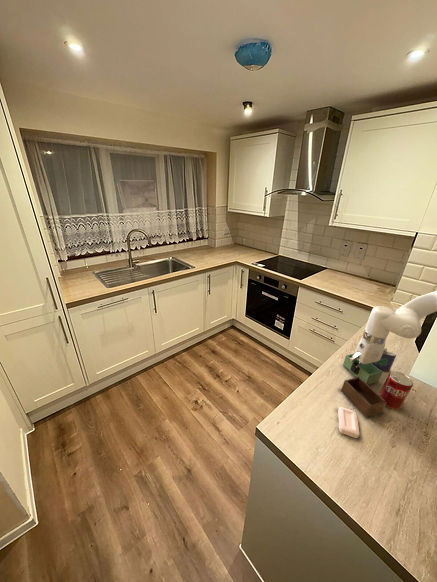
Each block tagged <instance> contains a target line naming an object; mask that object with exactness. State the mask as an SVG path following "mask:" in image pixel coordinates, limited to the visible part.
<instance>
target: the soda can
mask: <svg viewBox="0 0 437 582" xmlns="http://www.w3.org/2000/svg"><path fill="white" fill-rule="evenodd" d="M413 386H414V383H413V380H412V378H411V377H409V376H408V375H407V374H405V373H403V372H400V371H394V370H393V371H389V372H388V374H387V376H386V378H385V380H384V383H383V385H382V387H381V389H380V391H379V393H378V395H379V396H381V397H382V398H383V399H384V400H385V401H386V402H387V403H386V405H385V407H387V408H389V409H391V410H400V409H402V407H403V405H404V403H405V401H406V399H407V398H408V396H409V394H410V392H411V391H412V389H413Z"/></svg>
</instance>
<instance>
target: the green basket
mask: <svg viewBox="0 0 437 582" xmlns="http://www.w3.org/2000/svg"><path fill="white" fill-rule="evenodd" d="M352 356H354V353H351V354H346V355H345V357H344V360H343V363H342V366H343V367H344V368H345V369H346V370H347V371H348V372H350V373H351V374H352V375H353V376H354V378H356V377H360V378H361V379H362V380H363V381H364V382H365V383H366V384H367V385H372V384H376V383H379V381H380V379H381V377H382V374H383V372H384V371H381V370H380V369H378V368H377V367H376V366H375V365H373V364H372V363H368V364H361V365H360V366H359V367H360V369H359V371H358V374H357V375H355V374H354V373H353V372H352V371H351V370H350V369H351V366H352V362H351V361H350V358H351V357H352ZM356 363H357V364H358V363H359V361H358V360H357V361H356Z"/></svg>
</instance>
